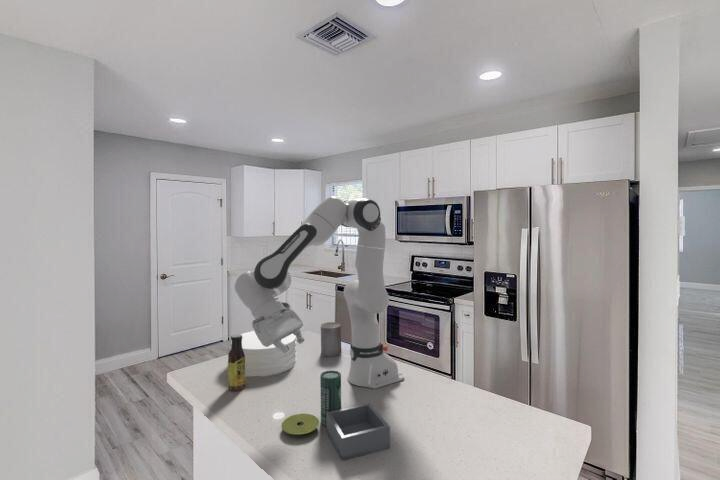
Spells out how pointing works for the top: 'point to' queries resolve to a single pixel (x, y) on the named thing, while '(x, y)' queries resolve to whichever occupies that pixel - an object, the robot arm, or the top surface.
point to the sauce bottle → (236, 364)
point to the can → (330, 393)
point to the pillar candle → (330, 339)
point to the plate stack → (267, 355)
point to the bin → (357, 431)
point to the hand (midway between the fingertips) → (295, 346)
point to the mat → (300, 424)
